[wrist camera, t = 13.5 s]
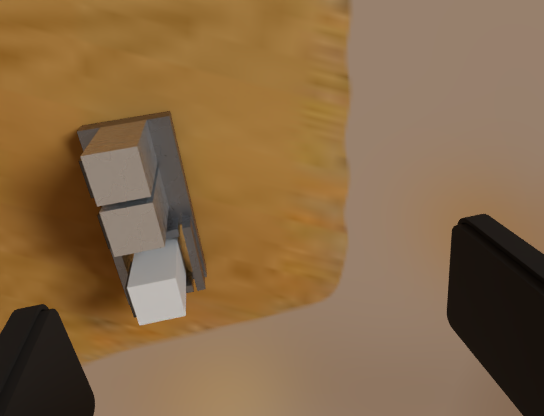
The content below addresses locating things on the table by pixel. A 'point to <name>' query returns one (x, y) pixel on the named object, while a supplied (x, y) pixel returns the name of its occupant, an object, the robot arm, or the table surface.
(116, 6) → the table surface
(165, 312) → the pale grey block
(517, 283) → the robot arm
